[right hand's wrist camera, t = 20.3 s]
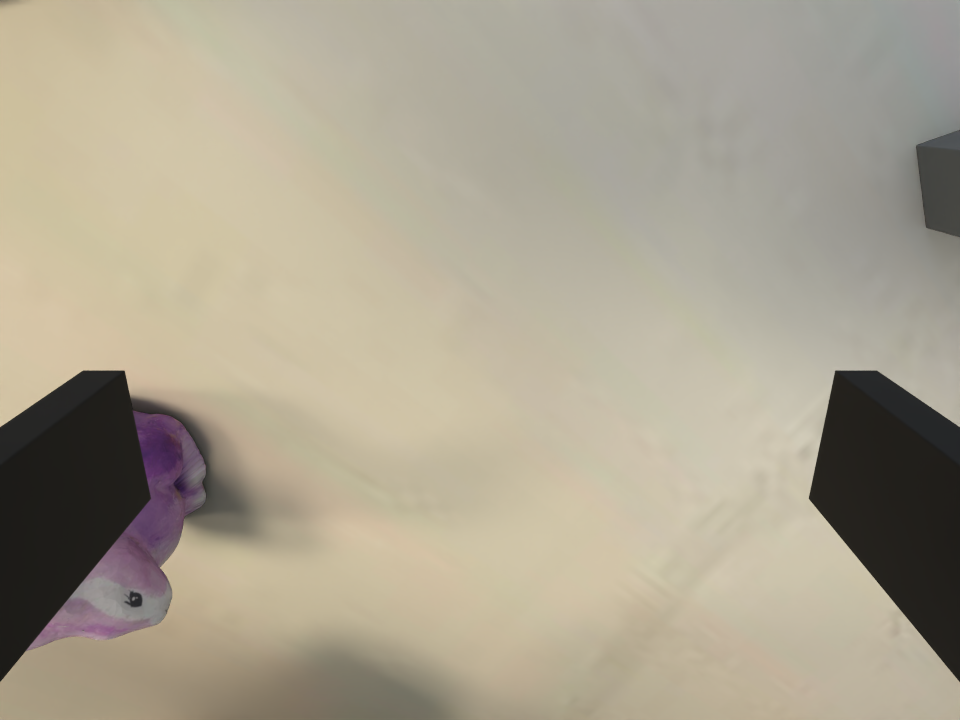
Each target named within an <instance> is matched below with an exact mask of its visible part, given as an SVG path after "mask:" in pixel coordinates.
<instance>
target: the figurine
mask: <svg viewBox="0 0 960 720" xmlns="http://www.w3.org/2000/svg"><path fill="white" fill-rule="evenodd" d="M133 414H134V418H135V423H136V428H137V433H138V438H139V442H140V447H141V452H142V457H143V462H144V467H145V471H146V476H147V481H148V486H149V491H150V495H151V499H150V501H149V502H148V503H147V504H146V506H145V507H144V508H143V509H142V510H141V512H140V513H139V514H138V515H137V516H136V518H135V519H134V520H133V521H132V523H131V524H130V525H129V526H128V527H127V529H126V530H125V531H124V532H123V533H122V535H121V536H120V537H119V538H118V539H117V541H116V542H115V543H114V544H113V546H112V547H111V548H110V549H109V550H108V552H107V553H106V554H105V555H104V556H103V558H102V559H101V560H100V561H99V563H98V564H97V565H96V566H95V567H94V569H93V570H92V571H91V572H90V573H89V575H88V576H87V577H86V578H85V580H84V581H83V582H82V583H81V584H80V586H79V587H78V588H77V589H76V590H75V592H74V593H73V594H72V595H71V597H70V598H69V599H68V600H67V601H66V603H65V604H64V605H63V606H62V607H61V609H60V610H59V611H58V612H57V614H56V615H55V616H54V617H53V618H52V620H51V621H50V622H49V623H48V624H47V626H46V627H45V628H44V629H43V631H42V632H41V633H40V634H39V635H38V637H37V638H36V639H35V640H34V641H33V643H32V644H31V645H30V646H29V648H28V649H27V650H31V649H34V648H37V647H40V646H43V645H45V644H48V643H50V642H52V641H54V640H58V639H62V638H65V637H72V636H82V637H87V638H90V639H95V640H109V639H113V638H116V637H119V636H121V635H124V634H127V633H129V632H132V631H136V630H139V629H143V628H147V627H150V626H154V625H157V624H158V623H160V622H161V621H162V620H163V619H164V617H165V616H166V614H167V610H168V608H169V605H170V602H171V599H172V589H171V586H170V583H169V581H168V579H167V577H166V575H165V574H164V572H163V571H162V570H161V569H160V567H161V566H162V565H163V564H164V562H165V561H166V560H167V559H168V558H169V557H170V555H171V554H172V553H173V552H174V550H175V548H176V547H177V545H178V543H179V540H180V537H181V533H182V529H183V521H184V517H185V516H186V515H188V514H190V513H191V512H193V511H195V510H197V509H198V508H200V507H201V506H202V505H203V504H204V503H205V501H206V493H205V489H204V486H203V485H202V481H203V479H204V477H205V476H206V465H205V464H204V459H203V457H202V455H201V454H200V452H199V449H198V448H197V446H196V444H195V442H194V440H193V438H192V437H191V436H190V434H189V433H188V431H186V428H185V427H184V426H183V424H182V423H181V422H180V421H178V420H176V419H174V418H173V417H172V416H168V415H163V414H147V413H142V412H137V411H134V410H133ZM27 650H26V651H27Z"/></svg>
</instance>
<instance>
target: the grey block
mask: <svg viewBox="0 0 960 720" xmlns="http://www.w3.org/2000/svg"><path fill="white" fill-rule="evenodd" d="M916 148H917V156H918V164H919V172H920V181H921V189H922V197H923V205H924V213H925V222H926V227H927V228H929V229H933V230H936V231H940V232H943V233H947V234H950V235H954V236H957V237H960V130H959V131H956V132H953V133H950V134H947V135H944V136H941V137H939V138H936V139H933V140H930V141H927V142H924V143H922V144H919V145H917V146H916Z"/></svg>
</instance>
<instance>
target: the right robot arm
mask: <svg viewBox="0 0 960 720" xmlns="http://www.w3.org/2000/svg"><path fill="white" fill-rule="evenodd" d="M150 499H151V495H150V491H149V486H148V481H147V476H146V471H145V467H144V462H143V457H142V452H141V447H140V442H139V438H138V433H137V428H136V423H135V418H134V414H133V409H132V404H131V399H130V394H129V390H128V385H127V380H126V375H125V371H82V372H80V373H79V374H78V375H76V376H75V377H73V378H72V379H70V380H69V381H67V382H66V383H64V384H63V385H61V386H60V387H58V388H57V389H56V390H54V391H53V392H51V393H50V394H48V395H47V396H45V397H44V398H42V399H41V400H39V401H38V402H37V403H35V404H34V405H32V406H31V407H29V408H28V409H26V410H25V411H23V412H22V413H20V414H19V415H18V416H16V417H15V418H13V419H12V420H10V421H9V422H7V423H6V424H4V425H3V426H1V427H0V682H1V680H2V679H3V678H4V677H5V675H6V674H7V673H8V672H9V671H10V669H11V668H12V667H13V666H14V665H15V663H16V662H17V661H18V660H19V658H20V657H21V656H22V655H23V654H24V652H25V651H26V650H27V649H28V648H29V646H30V645H31V644H32V643H33V641H34V640H35V639H36V638H37V637H38V635H39V634H40V633H41V632H42V631H43V629H44V628H45V627H46V626H47V624H48V623H49V622H50V621H51V620H52V618H53V617H54V616H55V615H56V614H57V612H58V611H59V610H60V609H61V607H62V606H63V605H64V604H65V603H66V601H67V600H68V599H69V598H70V597H71V595H72V594H73V593H74V592H75V590H76V589H77V588H78V587H79V586H80V584H81V583H82V582H83V581H84V580H85V578H86V577H87V576H88V575H89V573H90V572H91V571H92V570H93V569H94V567H95V566H96V565H97V564H98V563H99V561H100V560H101V559H102V558H103V556H104V555H105V554H106V553H107V552H108V550H109V549H110V548H111V547H112V546H113V544H114V543H115V542H116V541H117V539H118V538H119V537H120V536H121V535H122V533H123V532H124V531H125V530H126V529H127V527H128V526H129V525H130V524H131V523H132V521H133V520H134V519H135V518H136V516H137V515H138V514H139V513H140V512H141V510H142V509H143V508H144V507H145V506H146V504H147V503H148V502H149V501H150ZM809 499H810V501H811V502H812V503H813V504H814V506H815V507H816V508H817V509H818V510H819V512H820V513H821V514H822V515H823V516H824V518H825V519H826V520H827V521H828V523H829V524H830V525H831V526H832V527H833V529H834V530H835V531H836V532H837V533H838V535H839V536H840V537H841V538H842V539H843V541H844V542H845V543H846V544H847V546H848V547H849V548H850V549H851V550H852V552H853V553H854V554H855V555H856V556H857V558H858V559H859V560H860V561H861V563H862V564H863V565H864V566H865V567H866V569H867V570H868V571H869V572H870V573H871V575H872V576H873V577H874V578H875V580H876V581H877V582H878V583H879V584H880V586H881V587H882V588H883V589H884V590H885V592H886V593H887V594H888V595H889V597H890V598H891V599H892V600H893V601H894V603H895V604H896V605H897V606H898V607H899V609H900V610H901V611H902V612H903V614H904V615H905V616H906V617H907V618H908V620H909V621H910V622H911V623H912V624H913V626H914V627H915V628H916V629H917V631H918V632H919V633H920V634H921V635H922V637H923V638H924V639H925V640H926V641H927V643H928V644H929V645H930V646H931V648H932V649H933V650H934V651H935V652H936V654H937V655H938V656H939V657H940V658H941V660H942V661H943V662H944V663H945V665H946V666H947V667H948V668H949V669H950V671H951V672H952V673H953V674H954V675H955V677H956V678H957V679H958V680H959V682H960V427H959V426H957V425H956V424H954V423H953V422H951V421H950V420H948V419H947V418H945V417H944V416H942V415H941V414H940V413H938V412H937V411H935V410H934V409H932V408H931V407H929V406H928V405H926V404H925V403H923V402H922V401H921V400H919V399H918V398H916V397H915V396H913V395H912V394H910V393H909V392H907V391H906V390H904V389H903V388H902V387H900V386H899V385H897V384H896V383H894V382H893V381H891V380H890V379H888V378H887V377H885V376H884V375H882V374H881V373H880V372H878V371H835V375H834V380H833V385H832V390H831V394H830V399H829V404H828V409H827V414H826V418H825V423H824V428H823V433H822V438H821V442H820V447H819V452H818V457H817V462H816V467H815V471H814V476H813V481H812V486H811V491H810V495H809Z"/></svg>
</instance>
